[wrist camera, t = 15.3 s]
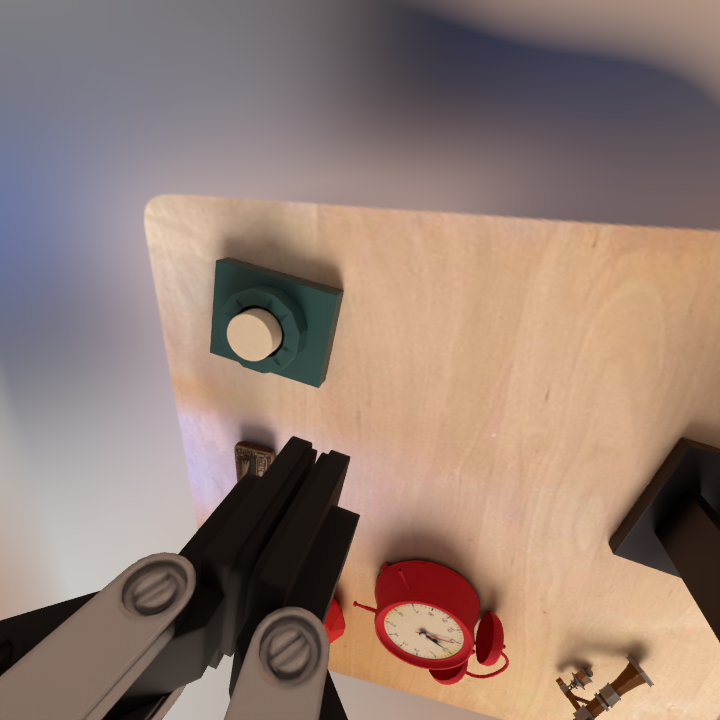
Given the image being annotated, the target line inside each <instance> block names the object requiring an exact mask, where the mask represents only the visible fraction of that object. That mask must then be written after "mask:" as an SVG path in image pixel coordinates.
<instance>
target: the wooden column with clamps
mask: <svg viewBox="0 0 720 720" xmlns="http://www.w3.org/2000/svg"><path fill="white" fill-rule="evenodd" d="M626 658H627V659H628V660H629V664H628V665H627V667H626V668H625V669H624V671H623V672H622V673H621V674H620V675H619V676H618V678H617V679H616V680H615V681H614V682H612V683H611V684H609V683H607V685H606V686H605V687H604V688H602V689H601V690H599V692H600V693H599V694H597V693H596V694H594V695H595V698H594V699H593V700H591V701H588V700H585V699H583V698H580V697H577V696H575V695H574V694H573V693H572V692H571V691H570V690H572V688H574V687H575V688H576V689H577V687H576V686H580V687H581V688H583V689H584V690H585V688H584V686H585V685H586V684H588V683H590V682H592V680H591V679H590V678H589V677H592V676H593V672H592V671H591V670H590V669H586V670H585V671H584V670H583V668H582V667H581V669H580V670H579V671H578V672H577V673H576V674H574V673H573V672H572V674H573V677H574V680H573V681H574V682H573V681H572V680H571V684H572V685H573V687H572V686H571V684H570V685H569V686H568V687H571V689H569V688H568V687H567V685H566V684H565V683H564V682H563V680H562V679H561V678H560V677H559V678H558V679H557V680H556V682H557V683H558V685H559V686H560V689H561V690H562V691H563V693H564V694H565V696H566V697H567V698H568V699H569V700H570V702H571V703H572V705H573V706H574V708H575V709H576V710H577V711H576V712H575V713H573V715H574V716H575V719H573V720H595V718H596V717H597V716H598V715H599V714H601V713H602V712H603V711H604V710H606V711H608V710H609V709H608V707H609V706H611V708H612V707H613V705H614V704H615V703H616V702H618V701H619V700H621V698H620V697H621V696H622V695H623V694H625V693H626V692H628V691H629V690H631V689H633V688H635V687H637V686H638V685H641V684H643V683H646V682H647V683H648V685H649V686H650V687H651V686H652V685H654V684H653V682H652V681H651V680H650V679H649V677H648V676H647V675H646V673H645V672H644V671H643V670H642V669H641V667H640V666H639V665H638V664H637V663H636V662H635V661H634V660H633V658H632V657H631V656H630V655H628V657H626ZM576 700H577V701H580V702H583V703H585V704H587V705H586V706H584V705H583V706H582V707H581V706H580V705H579V704H578V702H577V701H576Z"/></svg>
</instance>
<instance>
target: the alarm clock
mask: <svg viewBox="0 0 720 720" xmlns="http://www.w3.org/2000/svg"><path fill="white" fill-rule="evenodd" d="M381 570H383V572H382V573H381V574H380V576H379V577H378V579H377V582H376V586H375V599H376V603H377V609H374V608H371V607H368V606H364V605H361V604H358V603H357V602H356V601H354V604H353V606H355V607H356V606H359V607H361V608H364V609H366V610H369V611H371V612H374V613H376V614H375V630H376V634H377V636H378V638H379V640H380V642H381V643H382V645H383V646H384V647H385V648H386V649H387V650H388V651H389V652H390V653H392V654H393V655H394V656H396V657H397V658H399V659H400V660H402V661H404V662H406V663H408V664H411V665H414V666H417V667H420V668H425V669H429V672H430V673H431V675H432V676H433V678H434V679H435V680H436V681H437V682H439V683H441V684H445V685H451V684H455V683H457V682H458V681H459V680H461V679H462V678H463V676H464V675H465V674H467V675H469V676H471V677H475V678H489V677H493V676H495V675H498V674H499V673H501V672H503V671H504V670H505V669H506V668H507V667H508V665H509V660H508V658H507V656H506V655H505V654H504V653H503V652H502V649H503V648H505V647H506V646H505V645H504V644H503V643H504V633H503V627H502V623H501V621H500V620H499V618H498V617H497V616H496V615H495V614H493V613H491V612H487V613H485V615H484V616H483V617H482V619H481V621H480V623H479V627H478V630H477V636H476V641H475V638H474V627H475V625H476V623H477V621H478V619H479V615H480V605H479V600H478V597H477V594H476V592H475V591H474V589H473V588H472V586H471V585H470V584H469V583H468V582H467V581H466V580H465V579H464V578H463V577H462V576H460V575H459V574H457V573H456V572H454V571H453V570H451V569H449V568H446V567H444V566H442V565H439V564H436V563H431V562H427V561H404V562H399V563H396V564H394V565H391V566H390V567H389V566H388V565H387V562H386V563H384V564H383V565H382V566H381ZM474 644H475V645H476V656H477V660H478V662H479V663H480V664H482V665H485V666H491V665H493V664H495V663H496V662H497V660H498V659H499V657H500V655H502V656H503V657H504V658H505V660H506V664H505V665H504V666H503V667H502V668H501V669H500V670H498V671H496V672H494V673H491V674H487V675H476V674H472V673H470V672H468V671H466V670H467V666H468V658H469V657H470V655H472V654H474V653H475V650H474V649H473V647H474Z"/></svg>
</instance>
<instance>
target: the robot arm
mask: <svg viewBox="0 0 720 720" xmlns="http://www.w3.org/2000/svg"><path fill="white" fill-rule="evenodd" d="M316 456H317V450H315V449H312V443H311V442H309V441H306V440H303V439H300V438H298V437H295V436H293V437H291V438H290V440H289V441H288V442H287V444H286V445H285V446H284V448H283V449H282V450H281V452H280V453H279V454H278V455H277V457H276V458H275V459H274V461H273V462H272V463H271V465H270V466H269V467H268V469H267V470H266V471H265V472H264V474H263V475H262V476H261V477H260V476H257V475H255V474H252V473H247V474H245V475H244V476H243V477H242V478H241V479H240V481H239V482H238V483H237V484H236V485H235V487H234V488H233V489H232V490H231V491H230V493H229V494H228V495H227V496H226V497H225V499H224V500H223V501H222V502H221V503H220V505H219V506H218V507H217V508H216V510H215V511H214V512H213V513H212V514H211V516H210V517H209V518H208V519H207V520H206V522H205V523H204V524H203V525H202V526H201V528H200V529H199V530H198V531H197V532H196V534H195V535H194V536H193V537H192V538H191V540H190V541H189V542H188V543H187V544H186V546H185V547H184V548H183V549H182V550H181V552H180V553H179V554H175V553H165V552H164V553H158V554H152V555H150V556H147V557H144V558H142V559H140V560H138V561H137V562H135V563H134V564H132V565H131V566H130V567H128V568H127V569H126V570H125V571H123V572H122V573H121V574H120V575H119V576H117V577H116V578H115V579H114V580H113V581H112V582H111V583H109V584H108V585H107V586H106V587H105V588H103V589H102V590H101V591H98V592H94V593H91V594H88V595H84V596H81V597H78V598H74V599H71V600H68V601H64V602H61V603H58V604H54V605H51V606H47V607H44V608H41V609H37V610H34V611H31V612H27V613H24V614H21V615H17V616H14V617H11V618H7V619H4V620H1V621H0V720H162V719H163V718H164V716H165V715H166V714H167V712H168V711H169V709H170V708H171V707H172V705H173V704H174V703H175V701H176V700H177V699H178V697H179V696H180V695H181V693H182V691H183V690H184V688H185V686H186V684H188V683H191V682H193V681H195V680H197V679H199V678H201V677H202V675H203V673H204V672H205V670H206V668H207V666H208V665H209V666H211V667H213V668H215V669H216V668H217V666H218V665H219V663H220V661H221V659H222V657H223V655H224V654H225V655H227V656H230V657H231V656H232V655H233V654H234V659H233V667H232V673H231V680H230V687H229V695H230V703H229V706H228V709H227V712H226V715H225V718H224V720H348V719H347V716H346V714H345V711H344V708H343V706H342V704H341V701H340V698H339V696H338V693H337V691H336V688H335V686H334V683H333V681H332V678H331V676H330V673H329V671H328V668H327V667H328V661H329V647H330V643H329V639H328V635H327V631H326V629H325V628H324V626H323V624H324V621H325V618H326V616H327V613H328V610H329V607H330V604H331V601H332V598H333V595H334V593H335V590H336V587H337V584H338V581H339V578H340V575H341V572H342V570H343V567H344V564H345V561H346V558H347V555H348V552H349V549H350V546H351V543H352V540H353V536H354V533H355V530H356V527H357V524H358V520H359V517H360V515H359V514H356V513H353V512H351V511H348V510H346V509H343V508H340V507H338V502H339V498H340V495H341V491H342V487H343V483H344V480H345V476H346V472H347V469H348V465H349V461H350V456H347V455H344V454H342V453H339V452H336V451H333V450H331V451H330V453H329V454H326V453H323V452H322V453H321V455H320V457H319V458H318V460H317V462H316V463H315V461H316Z"/></svg>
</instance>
